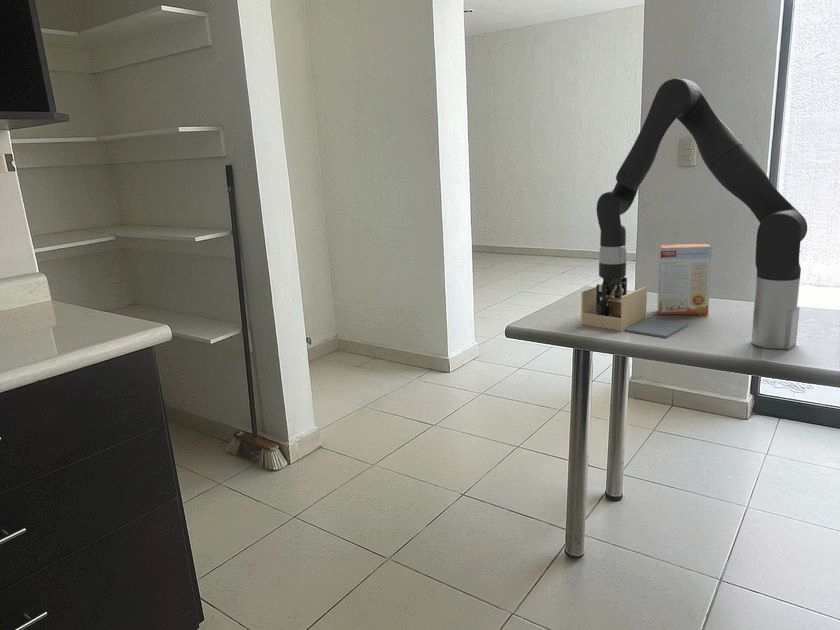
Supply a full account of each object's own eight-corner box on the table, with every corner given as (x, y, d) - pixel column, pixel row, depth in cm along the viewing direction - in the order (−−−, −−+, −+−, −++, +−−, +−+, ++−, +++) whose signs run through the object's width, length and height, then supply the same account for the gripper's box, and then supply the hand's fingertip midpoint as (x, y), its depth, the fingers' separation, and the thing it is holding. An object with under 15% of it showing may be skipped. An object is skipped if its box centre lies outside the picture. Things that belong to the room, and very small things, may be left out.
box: (631, 322, 179) (632, 299, 177) (624, 326, 176) (624, 302, 174) (603, 318, 185) (604, 295, 183) (595, 321, 182) (596, 299, 180)
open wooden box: (645, 319, 181) (646, 286, 178) (622, 331, 171) (623, 296, 168) (605, 313, 190) (606, 282, 187) (581, 324, 180) (581, 291, 177)
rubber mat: (687, 325, 172) (687, 323, 172) (666, 338, 162) (666, 335, 162) (646, 319, 180) (646, 318, 180) (624, 331, 171) (624, 329, 171)
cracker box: (705, 310, 186) (709, 243, 181) (708, 315, 181) (712, 246, 175) (656, 310, 190) (659, 244, 185) (658, 315, 185) (661, 247, 179)
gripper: (612, 265, 169) (611, 322, 173) (636, 257, 178) (634, 311, 183) (588, 263, 174) (587, 318, 178) (612, 256, 184) (611, 308, 188)
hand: (611, 314), depth 180 cm, fingers open, 7 cm apart
